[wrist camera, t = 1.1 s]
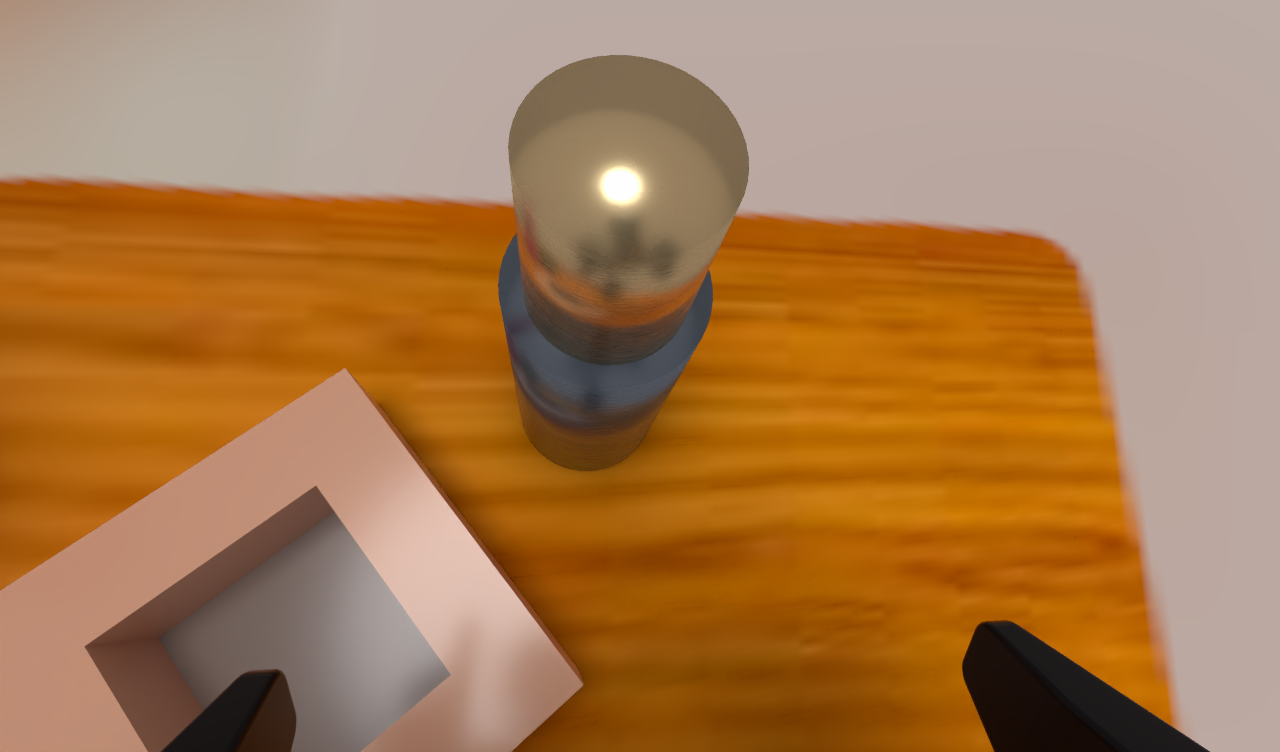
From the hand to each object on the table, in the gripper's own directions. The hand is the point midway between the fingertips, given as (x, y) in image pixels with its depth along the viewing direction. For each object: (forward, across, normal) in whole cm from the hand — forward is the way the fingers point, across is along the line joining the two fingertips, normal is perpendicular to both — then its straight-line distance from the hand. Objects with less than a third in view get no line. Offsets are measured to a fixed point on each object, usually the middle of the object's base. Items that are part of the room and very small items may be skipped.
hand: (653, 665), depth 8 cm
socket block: (+9, +8, +9) cm, 15 cm away
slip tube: (+14, 0, +4) cm, 15 cm away
